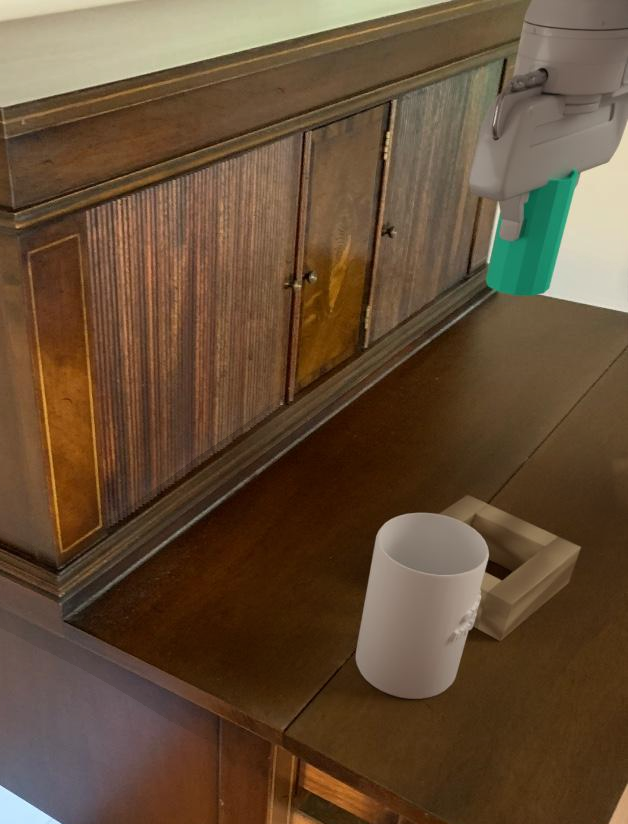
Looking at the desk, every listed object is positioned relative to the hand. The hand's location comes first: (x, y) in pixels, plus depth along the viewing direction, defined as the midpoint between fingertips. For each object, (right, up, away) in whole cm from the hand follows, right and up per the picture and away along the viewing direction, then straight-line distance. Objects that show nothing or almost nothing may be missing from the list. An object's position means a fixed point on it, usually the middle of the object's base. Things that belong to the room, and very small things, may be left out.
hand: (530, 230), depth 87 cm
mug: (-14, -39, -11) cm, 43 cm away
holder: (-6, -33, -4) cm, 34 cm away
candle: (0, -4, +3) cm, 5 cm away
